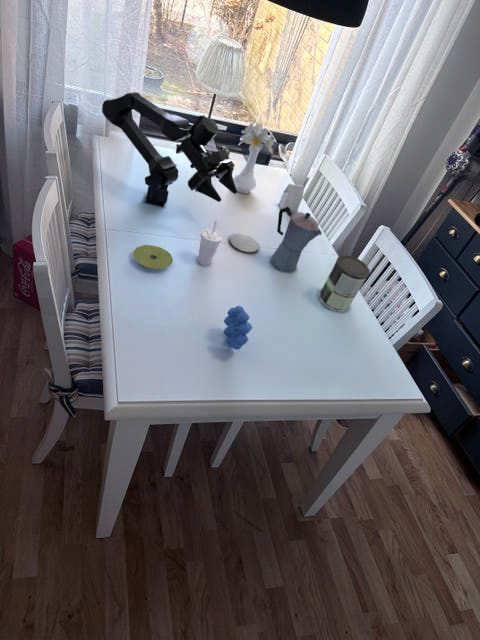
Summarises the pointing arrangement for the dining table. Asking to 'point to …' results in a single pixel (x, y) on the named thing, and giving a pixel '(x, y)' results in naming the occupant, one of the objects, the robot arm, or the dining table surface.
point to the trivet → (243, 243)
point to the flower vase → (252, 156)
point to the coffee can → (343, 283)
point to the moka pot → (294, 239)
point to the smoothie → (208, 245)
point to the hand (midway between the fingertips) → (228, 197)
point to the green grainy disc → (153, 257)
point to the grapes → (237, 327)
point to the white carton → (292, 197)
